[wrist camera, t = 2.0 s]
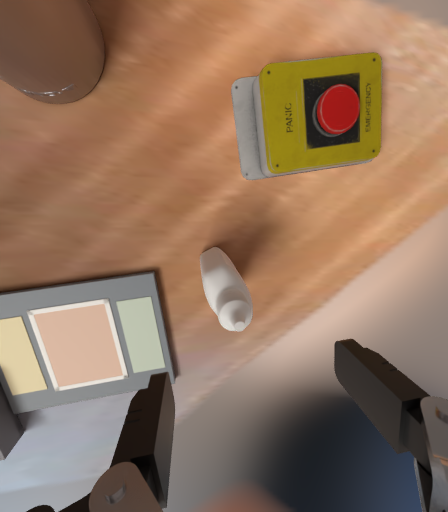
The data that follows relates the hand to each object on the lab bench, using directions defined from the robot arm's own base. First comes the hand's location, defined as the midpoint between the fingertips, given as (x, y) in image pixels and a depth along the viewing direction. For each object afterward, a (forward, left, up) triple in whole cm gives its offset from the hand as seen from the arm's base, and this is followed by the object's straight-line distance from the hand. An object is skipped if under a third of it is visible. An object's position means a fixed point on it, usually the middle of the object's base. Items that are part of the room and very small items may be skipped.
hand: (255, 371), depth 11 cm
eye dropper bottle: (0, 0, -16) cm, 16 cm away
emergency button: (-14, +11, -17) cm, 24 cm away
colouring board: (+6, -16, -16) cm, 23 cm away
